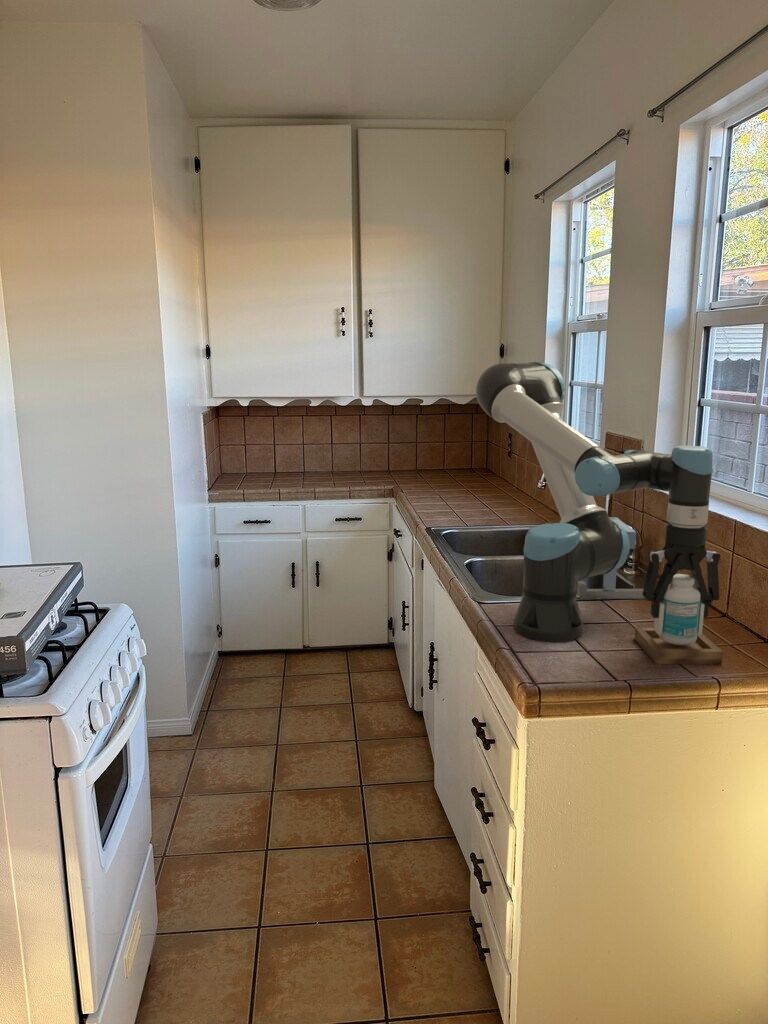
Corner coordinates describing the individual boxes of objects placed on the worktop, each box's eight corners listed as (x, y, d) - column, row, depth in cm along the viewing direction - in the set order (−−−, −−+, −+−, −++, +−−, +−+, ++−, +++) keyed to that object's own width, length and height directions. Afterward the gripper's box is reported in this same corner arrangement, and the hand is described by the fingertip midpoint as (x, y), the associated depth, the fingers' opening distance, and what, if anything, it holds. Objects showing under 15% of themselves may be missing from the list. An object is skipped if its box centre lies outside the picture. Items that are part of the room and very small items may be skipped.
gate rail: (579, 599, 183) (580, 584, 183) (576, 595, 186) (577, 580, 185) (672, 599, 183) (673, 584, 182) (667, 595, 186) (669, 580, 185)
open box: (656, 663, 145) (657, 651, 145) (634, 638, 158) (635, 628, 157) (721, 663, 145) (722, 651, 145) (694, 638, 158) (695, 627, 157)
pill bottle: (665, 630, 156) (670, 569, 153) (701, 638, 152) (707, 576, 149) (652, 640, 150) (657, 577, 148) (689, 649, 146) (695, 585, 143)
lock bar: (621, 607, 171) (626, 531, 167) (602, 587, 185) (607, 517, 182) (632, 607, 171) (637, 531, 167) (612, 587, 185) (616, 517, 182)
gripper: (642, 528, 142) (634, 639, 147) (746, 528, 142) (735, 638, 147) (629, 520, 150) (622, 625, 154) (729, 519, 150) (718, 625, 154)
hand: (677, 632), depth 151 cm, fingers closed on pill bottle, 7 cm apart
